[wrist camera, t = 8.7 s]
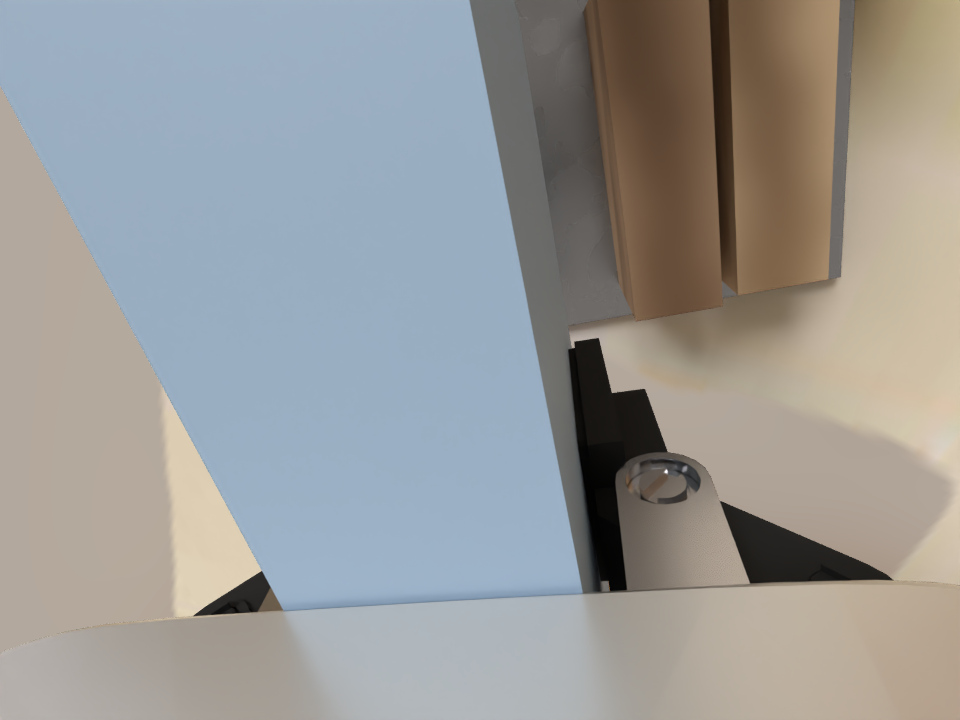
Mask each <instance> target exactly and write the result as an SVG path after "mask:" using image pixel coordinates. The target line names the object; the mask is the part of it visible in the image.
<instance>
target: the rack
mask: <svg viewBox="0 0 960 720" xmlns="http://www.w3.org/2000/svg"><path fill="white" fill-rule="evenodd" d="M587 1H588V0H514V2H515V5H516V9H517V13H518V16H519V22H520V29H521V35H522V41H523V47H524V54H525V60H526V66H527V72H528V79H529V85H530V91H531V97H532V104H533V110H534V116H535V122H536V129H537V135H538V141H539V147H540V154H541V160H542V166H543V172H544V179H545V185H546V191H547V197H548V204H549V210H550V216H551V222H552V229H553V235H554V241H555V247H556V254H557V260H558V266H559V272H560V279H561V285H562V291H563V297H564V304H565V310H566V316H567V322H568V326H569V325H574V324H580V323H586V322H591V321H597V320H602V319H608V318H614V317H619V316H625V315H630V314H632V312H631V309H630V307H629V305H628V303H627V301H626V299H625V296H624V294H623V292H622V290H621V288H620V286H619V280H618V273H617V265H616V257H615V250H614V242H613V234H612V227H611V219H610V211H609V204H608V196H607V188H606V181H605V173H604V165H603V158H602V150H601V142H600V135H599V127H598V119H597V112H596V104H595V96H594V89H593V81H592V73H591V66H590V58H589V50H588V43H587V35H586V27H585V20H584V12H583V11H584V8H585V6H586V4H587ZM854 8H855V0H840V10H839V34H838V58H837V82H836V106H835V130H834V154H833V178H832V202H831V226H830V250H829V274H828V279H832V278H838V277H841V260H842V241H843V221H844V202H845V182H846V163H847V144H848V124H849V105H850V86H851V66H852V47H853V28H854ZM731 296H737V294H736V293H735V292H734V291H733V290H731V289H730V288H729V287H728V286H727V285H726V284H725V283H724V282H723V281H722V298H726V297H731Z"/></svg>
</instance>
